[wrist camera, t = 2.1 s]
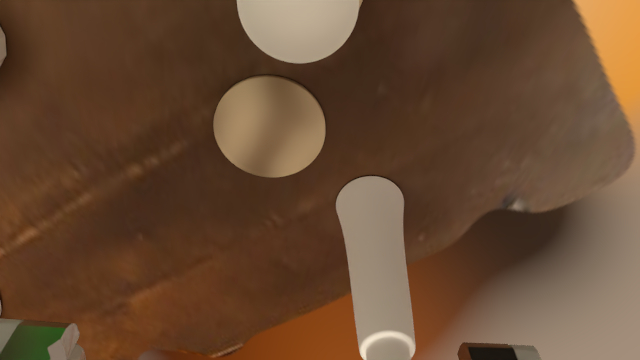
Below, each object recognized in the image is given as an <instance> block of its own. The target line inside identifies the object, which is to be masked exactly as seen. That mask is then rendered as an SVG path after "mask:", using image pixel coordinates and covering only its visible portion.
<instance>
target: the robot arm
mask: <svg viewBox="0 0 640 360" xmlns="http://www.w3.org/2000/svg"><path fill="white" fill-rule="evenodd" d="M0 314H1V302H0ZM79 335H80V334H79V331H78V328H77V325H76V324H71V323H58V322H45V321H32V320H16V319H0V360H86V357H85V353H84V349H83V348H81V347H80V346H79V345H78V344H77V343H76V342H77V340H78V337H79ZM458 358H459V360H541V357H540V355H539V353H538V350H537V349H536V348H535V347H534V346H525V345H508V344H489V343H462V344H461V346H460V348H459V351H458Z"/></svg>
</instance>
